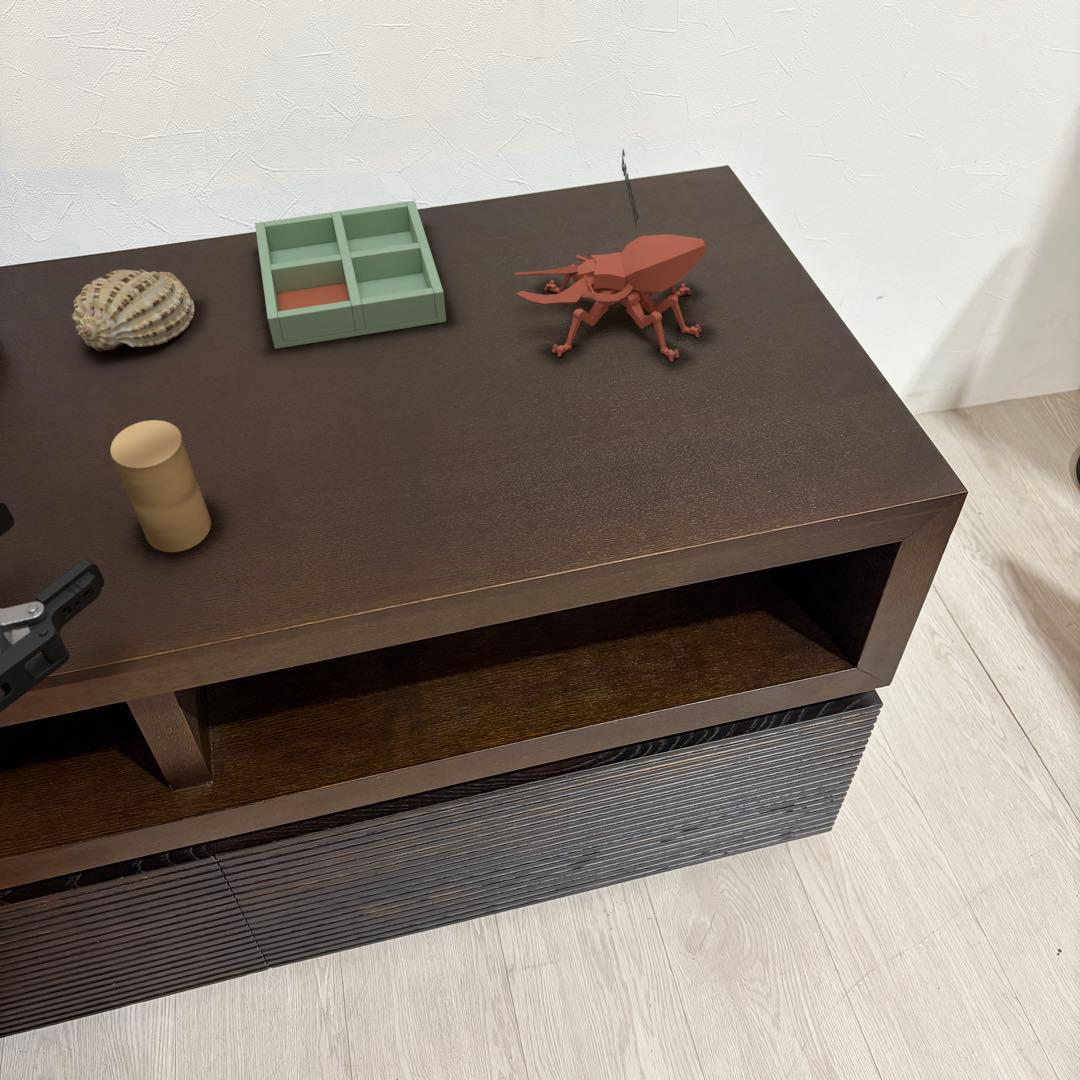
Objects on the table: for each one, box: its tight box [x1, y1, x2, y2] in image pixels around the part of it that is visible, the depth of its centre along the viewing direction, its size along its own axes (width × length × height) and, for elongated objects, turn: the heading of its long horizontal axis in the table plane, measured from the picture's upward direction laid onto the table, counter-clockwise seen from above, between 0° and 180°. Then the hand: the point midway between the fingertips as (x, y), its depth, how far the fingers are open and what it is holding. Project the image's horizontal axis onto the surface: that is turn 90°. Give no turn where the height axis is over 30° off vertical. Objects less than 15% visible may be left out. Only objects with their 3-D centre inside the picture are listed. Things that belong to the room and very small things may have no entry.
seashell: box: [71, 268, 195, 352], centre depth 88 cm, size 8×6×10 cm
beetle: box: [513, 148, 707, 362], centre depth 86 cm, size 15×12×13 cm
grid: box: [254, 200, 447, 350], centre depth 92 cm, size 14×14×3 cm
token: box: [110, 419, 212, 553], centre depth 72 cm, size 4×4×8 cm
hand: (50, 539), depth 66 cm, fingers open, 8 cm apart
